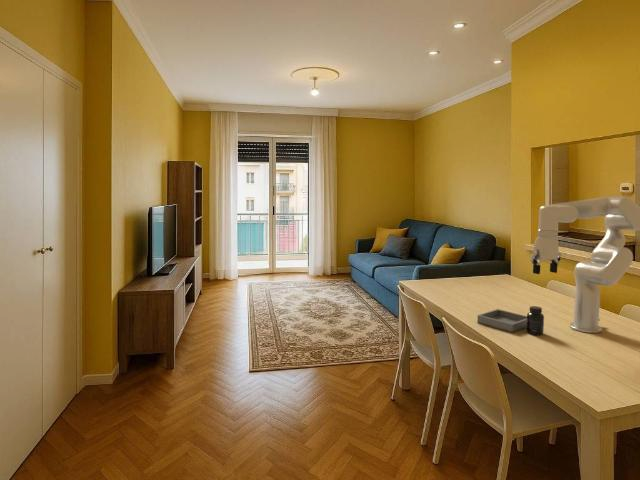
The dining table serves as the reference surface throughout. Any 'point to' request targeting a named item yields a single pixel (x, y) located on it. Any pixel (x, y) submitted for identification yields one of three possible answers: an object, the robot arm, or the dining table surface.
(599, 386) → the dining table surface
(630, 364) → the dining table surface
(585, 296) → the robot arm
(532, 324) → the supplement bottle
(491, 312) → the tray
